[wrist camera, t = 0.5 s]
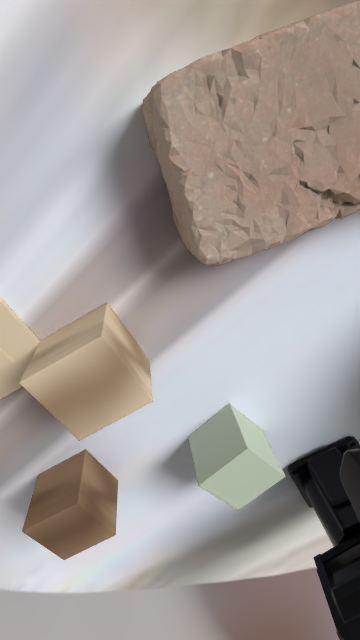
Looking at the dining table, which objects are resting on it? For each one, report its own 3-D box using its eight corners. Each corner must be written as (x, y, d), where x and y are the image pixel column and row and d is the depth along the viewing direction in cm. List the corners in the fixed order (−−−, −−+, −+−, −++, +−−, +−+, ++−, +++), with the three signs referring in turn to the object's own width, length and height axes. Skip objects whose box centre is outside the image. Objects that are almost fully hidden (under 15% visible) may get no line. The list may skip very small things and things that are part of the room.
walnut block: (117, 479, 27) (115, 534, 23) (73, 502, 28) (64, 560, 24) (85, 448, 25) (77, 503, 21) (39, 473, 26) (21, 531, 22)
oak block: (149, 358, 22) (153, 401, 18) (88, 391, 23) (79, 440, 19) (107, 301, 20) (101, 336, 16) (40, 339, 21) (19, 382, 17)
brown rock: (187, 255, 20) (202, 281, 16) (133, 99, 16) (135, 77, 12) (447, 156, 19) (534, 155, 15) (455, -29, 16) (575, -98, 11)
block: (262, 429, 27) (285, 476, 23) (222, 459, 28) (238, 510, 24) (229, 402, 25) (247, 448, 21) (188, 435, 26) (198, 486, 22)
